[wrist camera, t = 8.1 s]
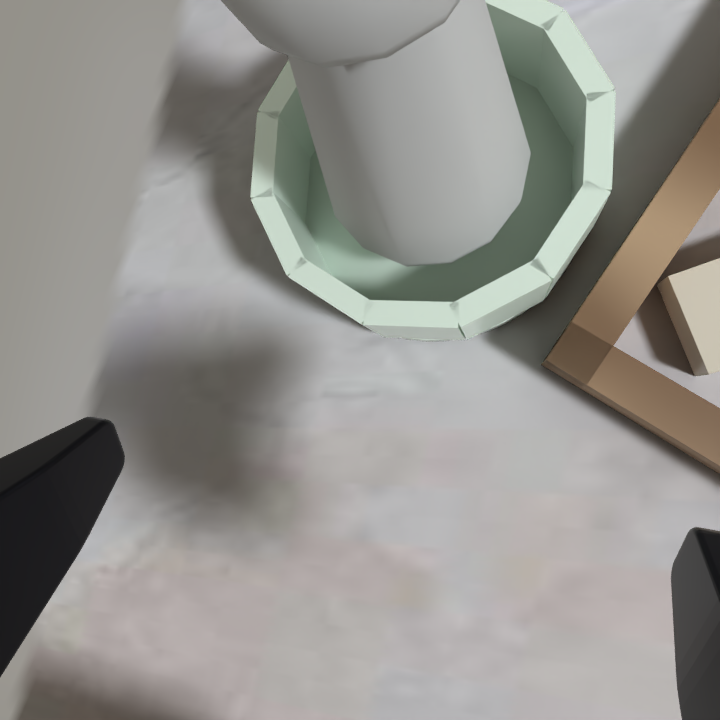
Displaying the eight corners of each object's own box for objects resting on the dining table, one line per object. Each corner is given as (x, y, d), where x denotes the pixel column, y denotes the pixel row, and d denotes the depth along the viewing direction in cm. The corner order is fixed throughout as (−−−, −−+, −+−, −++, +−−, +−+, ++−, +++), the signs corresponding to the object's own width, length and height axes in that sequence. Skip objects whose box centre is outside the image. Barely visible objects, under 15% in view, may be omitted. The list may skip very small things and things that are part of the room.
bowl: (479, 399, 19) (474, 398, 15) (246, 248, 21) (193, 215, 18) (655, 134, 18) (694, 65, 15) (394, 9, 21) (371, -77, 17)
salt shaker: (348, 287, 19) (65, 65, 7) (346, 122, 20) (79, -370, 7) (530, 275, 18) (598, -28, 5) (523, 98, 18) (571, -557, 6)
